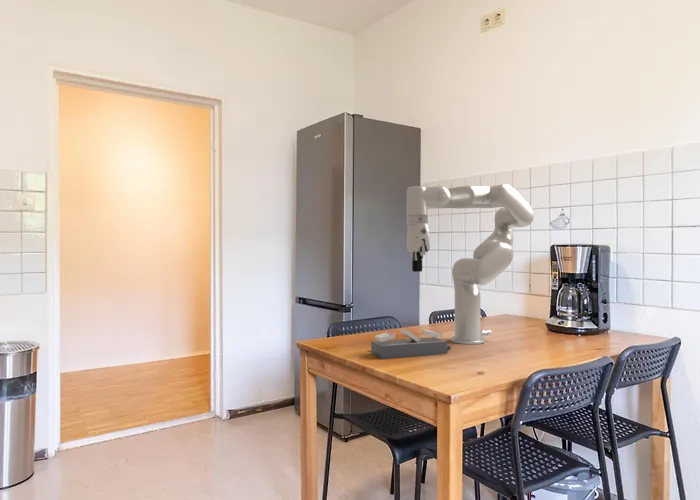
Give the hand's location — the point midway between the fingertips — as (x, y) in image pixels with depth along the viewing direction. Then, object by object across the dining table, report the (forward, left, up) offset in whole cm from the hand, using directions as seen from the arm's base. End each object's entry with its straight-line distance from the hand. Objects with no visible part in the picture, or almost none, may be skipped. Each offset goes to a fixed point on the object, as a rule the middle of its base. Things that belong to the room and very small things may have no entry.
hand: (417, 271), depth 176 cm
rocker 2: (+8, +10, -22) cm, 25 cm away
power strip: (+6, +10, -27) cm, 30 cm away
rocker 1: (+17, +10, -22) cm, 29 cm away
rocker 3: (0, +10, -22) cm, 24 cm away
